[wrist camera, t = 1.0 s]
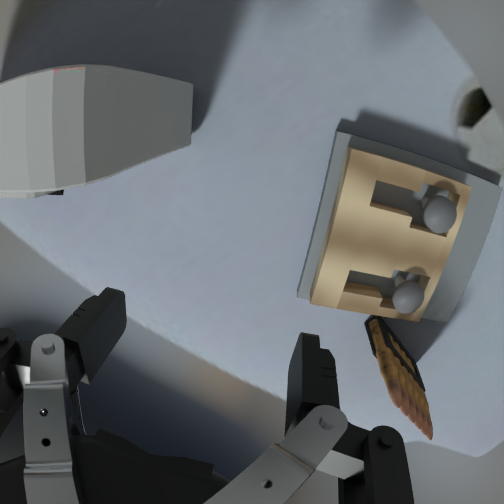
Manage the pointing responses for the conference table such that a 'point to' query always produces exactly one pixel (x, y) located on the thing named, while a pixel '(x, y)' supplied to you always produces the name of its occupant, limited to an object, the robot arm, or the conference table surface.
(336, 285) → the beech panel
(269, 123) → the conference table surface
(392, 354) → the ammunition clip
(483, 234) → the board
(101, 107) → the rounded white slab
